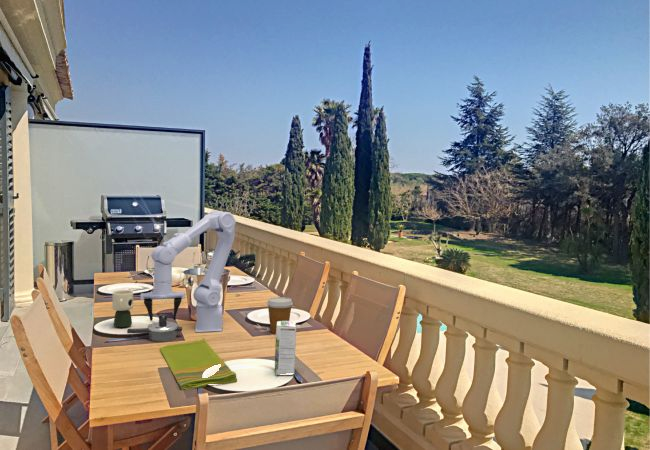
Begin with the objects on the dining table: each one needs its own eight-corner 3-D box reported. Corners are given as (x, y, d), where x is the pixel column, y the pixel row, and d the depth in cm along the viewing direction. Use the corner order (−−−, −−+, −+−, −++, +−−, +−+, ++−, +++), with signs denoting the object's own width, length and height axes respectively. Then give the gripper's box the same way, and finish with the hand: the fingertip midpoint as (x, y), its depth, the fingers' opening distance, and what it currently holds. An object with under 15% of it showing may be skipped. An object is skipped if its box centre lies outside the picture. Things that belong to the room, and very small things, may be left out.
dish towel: (181, 393, 134) (181, 380, 134) (158, 351, 166) (158, 341, 165) (238, 384, 141) (238, 372, 141) (206, 346, 173) (206, 336, 172)
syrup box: (274, 368, 152) (275, 320, 151) (294, 368, 152) (296, 320, 151) (274, 376, 146) (275, 325, 145) (295, 376, 147) (296, 326, 145)
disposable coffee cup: (296, 330, 192) (297, 298, 191) (284, 336, 184) (284, 303, 183) (274, 326, 196) (275, 295, 195) (261, 332, 188) (261, 300, 187)
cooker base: (182, 332, 185) (182, 323, 184) (181, 340, 176) (182, 330, 176) (129, 335, 180) (129, 325, 180) (125, 342, 172) (125, 332, 171)
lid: (179, 325, 184) (179, 311, 184) (176, 333, 174) (176, 318, 174) (150, 326, 182) (150, 312, 182) (145, 334, 172) (145, 319, 172)
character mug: (131, 330, 186) (131, 294, 185) (110, 331, 184) (109, 295, 183) (134, 322, 197) (134, 288, 196) (115, 322, 195) (114, 289, 194)
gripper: (139, 283, 172) (139, 323, 173) (184, 282, 175) (184, 321, 176) (141, 279, 178) (141, 318, 179) (185, 278, 182) (184, 316, 183)
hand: (163, 319), depth 178 cm, fingers open, 7 cm apart
